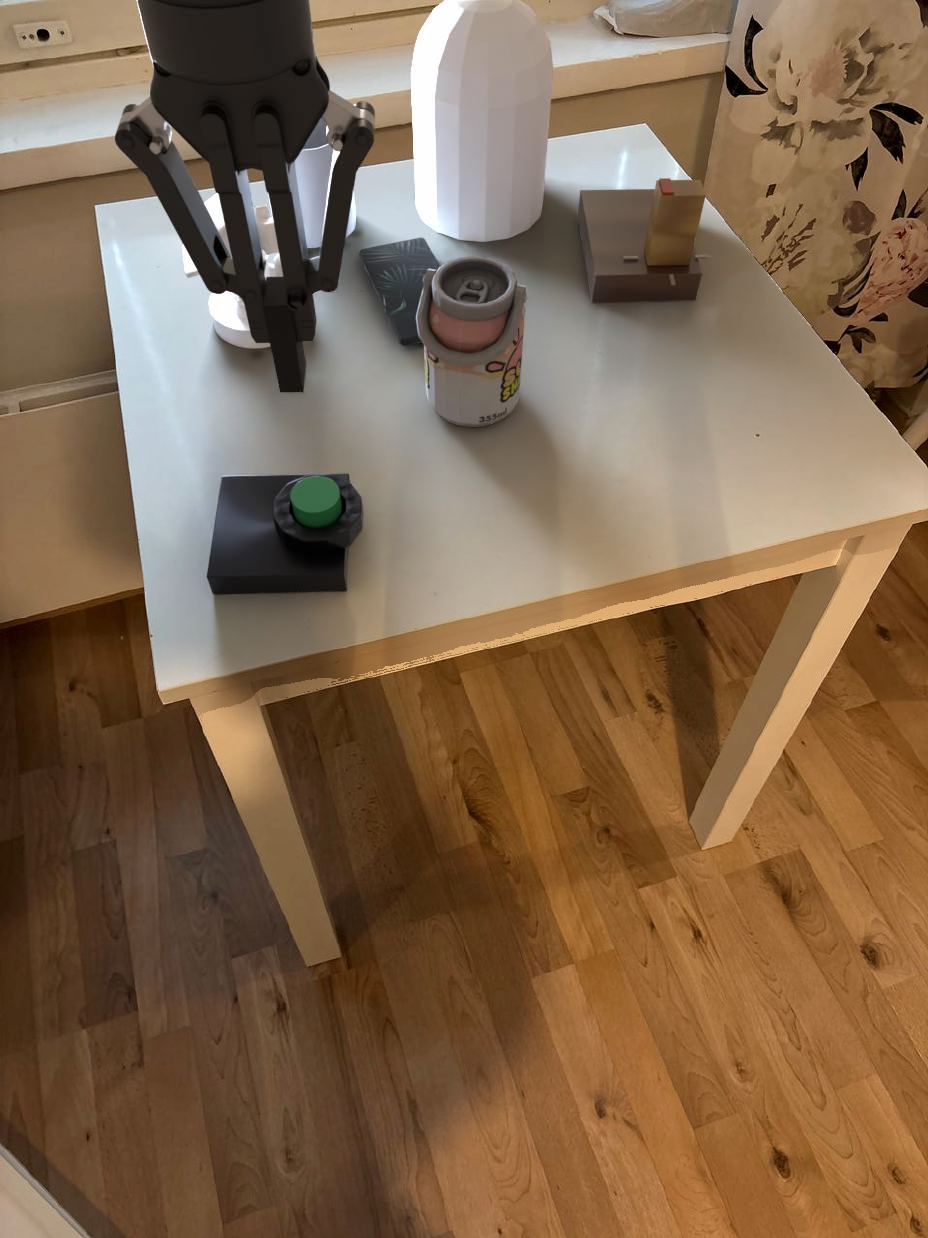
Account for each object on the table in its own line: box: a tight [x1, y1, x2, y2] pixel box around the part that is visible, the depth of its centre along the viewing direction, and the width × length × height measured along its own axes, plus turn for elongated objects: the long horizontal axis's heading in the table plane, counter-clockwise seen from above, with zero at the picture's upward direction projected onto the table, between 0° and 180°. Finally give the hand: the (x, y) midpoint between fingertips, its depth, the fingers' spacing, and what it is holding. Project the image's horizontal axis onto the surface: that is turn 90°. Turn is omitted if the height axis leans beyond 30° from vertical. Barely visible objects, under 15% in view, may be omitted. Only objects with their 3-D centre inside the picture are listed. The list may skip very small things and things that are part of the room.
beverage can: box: [416, 255, 528, 428], centre depth 78 cm, size 9×8×12 cm
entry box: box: [206, 472, 364, 595], centre depth 72 cm, size 10×11×4 cm
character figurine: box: [181, 193, 283, 349], centre depth 84 cm, size 9×10×12 cm
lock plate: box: [576, 188, 711, 303], centre depth 93 cm, size 16×11×3 cm
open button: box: [291, 476, 342, 528], centre depth 70 cm, size 4×4×2 cm
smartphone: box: [358, 237, 440, 347], centre depth 90 cm, size 7×1×15 cm
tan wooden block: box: [644, 177, 706, 266], centre depth 87 cm, size 4×2×7 cm, turn 92°
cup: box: [267, 118, 357, 249], centre depth 93 cm, size 8×8×10 cm
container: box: [410, 0, 555, 243], centre depth 91 cm, size 13×13×20 cm
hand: (293, 377), depth 60 cm, fingers closed
